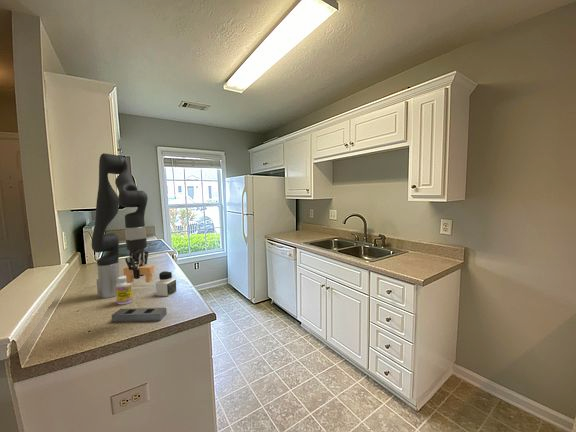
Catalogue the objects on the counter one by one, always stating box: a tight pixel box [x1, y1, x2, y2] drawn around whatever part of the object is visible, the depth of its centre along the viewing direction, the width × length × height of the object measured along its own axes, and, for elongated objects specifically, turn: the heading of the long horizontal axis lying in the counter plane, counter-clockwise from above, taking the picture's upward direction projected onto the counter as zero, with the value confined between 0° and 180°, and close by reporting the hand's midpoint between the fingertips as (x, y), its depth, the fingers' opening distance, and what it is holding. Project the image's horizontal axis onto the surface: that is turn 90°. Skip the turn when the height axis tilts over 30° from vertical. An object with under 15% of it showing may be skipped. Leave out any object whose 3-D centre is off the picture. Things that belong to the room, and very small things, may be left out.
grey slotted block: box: [111, 307, 168, 323], centre depth 107 cm, size 20×6×3 cm, turn 91°
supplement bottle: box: [115, 275, 134, 305], centre depth 123 cm, size 7×7×13 cm
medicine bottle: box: [155, 270, 177, 297], centre depth 134 cm, size 7×7×12 cm
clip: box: [122, 265, 155, 284], centre depth 107 cm, size 11×3×6 cm, turn 92°
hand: (139, 277), depth 107 cm, fingers closed on clip, 3 cm apart
